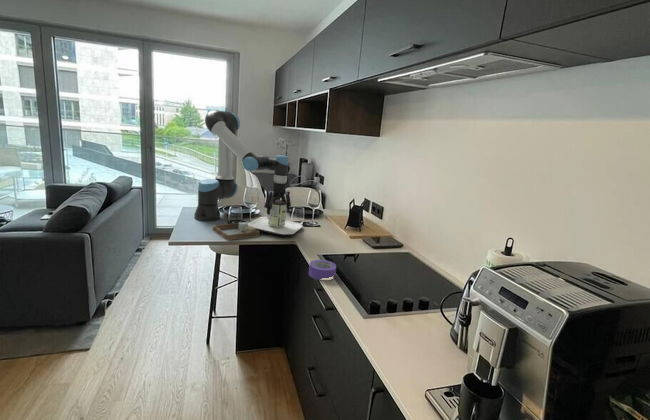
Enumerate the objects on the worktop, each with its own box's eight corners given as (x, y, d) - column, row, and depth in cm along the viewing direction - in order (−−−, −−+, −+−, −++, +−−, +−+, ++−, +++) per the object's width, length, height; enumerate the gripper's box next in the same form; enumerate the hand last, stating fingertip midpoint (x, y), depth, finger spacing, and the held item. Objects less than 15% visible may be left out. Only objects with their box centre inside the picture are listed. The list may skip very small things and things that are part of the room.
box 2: (244, 233, 189) (245, 227, 188) (250, 232, 192) (250, 226, 191) (249, 235, 186) (249, 229, 185) (254, 234, 189) (255, 227, 188)
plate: (242, 228, 192) (242, 224, 192) (263, 218, 220) (263, 215, 220) (290, 239, 187) (290, 235, 186) (305, 227, 214) (305, 224, 214)
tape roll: (307, 268, 154) (309, 258, 152) (333, 270, 155) (334, 260, 154) (309, 280, 142) (310, 269, 141) (336, 282, 144) (338, 271, 142)
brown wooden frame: (212, 229, 188) (213, 225, 188) (243, 226, 201) (244, 222, 200) (227, 240, 176) (227, 235, 175) (259, 235, 188) (259, 231, 188)
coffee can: (271, 220, 208) (273, 198, 205) (287, 223, 207) (289, 201, 203) (265, 224, 198) (267, 201, 195) (281, 227, 197) (284, 204, 193)
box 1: (238, 229, 195) (238, 222, 194) (244, 228, 198) (245, 222, 197) (240, 231, 192) (241, 224, 191) (247, 230, 194) (247, 224, 193)
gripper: (266, 183, 186) (263, 222, 192) (299, 183, 201) (295, 218, 207) (259, 181, 192) (256, 218, 197) (292, 180, 207) (288, 215, 212)
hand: (276, 218), depth 202 cm, fingers closed on coffee can, 10 cm apart
